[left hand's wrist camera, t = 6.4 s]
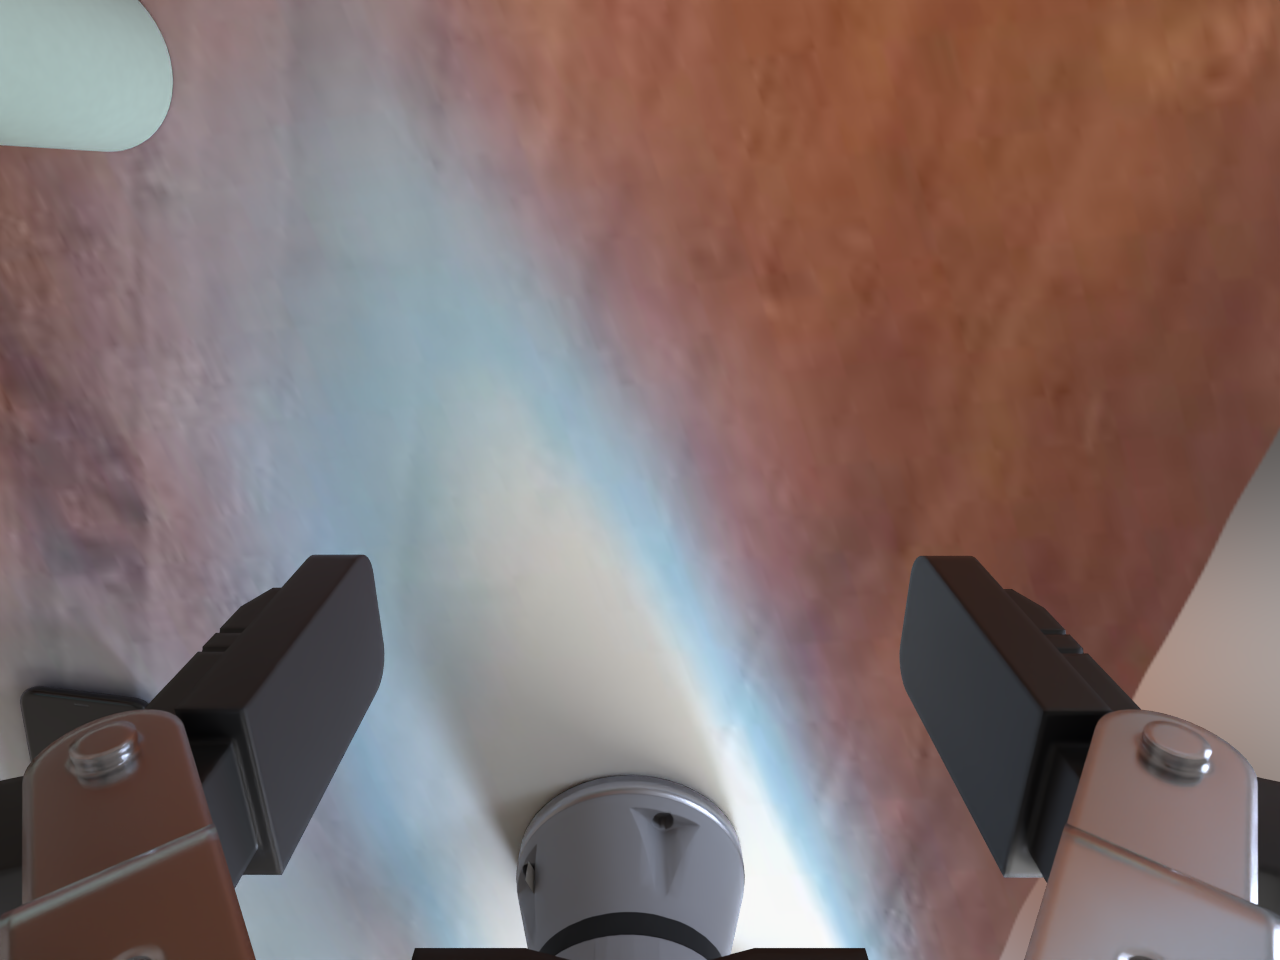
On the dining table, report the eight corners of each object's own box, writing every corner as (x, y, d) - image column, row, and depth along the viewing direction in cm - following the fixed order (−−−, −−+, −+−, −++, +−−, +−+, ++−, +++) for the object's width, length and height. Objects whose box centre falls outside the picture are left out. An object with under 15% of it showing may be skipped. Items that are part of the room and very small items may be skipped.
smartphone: (175, 882, 53) (156, 696, 47) (167, 894, 52) (147, 705, 46) (58, 869, 52) (25, 679, 47) (49, 881, 52) (13, 689, 46)
